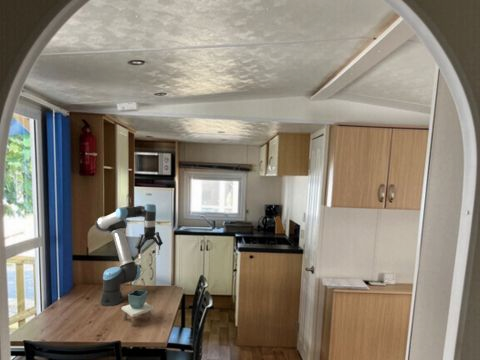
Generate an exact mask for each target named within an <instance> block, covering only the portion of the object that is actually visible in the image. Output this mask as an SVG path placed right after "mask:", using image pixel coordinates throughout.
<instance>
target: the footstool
mask: <svg viewBox="0 0 480 360" xmlns="http://www.w3.org/2000/svg"><path fill="white" fill-rule="evenodd" d="M121 310H122V311H123V321H127V320H128V315H129V316H130V317H131V327H135V326H136V317H137V316H139V315H141V316H142V315H143V314H145V313H147V314H146V315H147V318H146V319H147V321H151V319H152V318H151V317H152V311H153V310H154V306H152V305H150V303H147V302H146V301H145V303H144V305H143V306H142V307H141V308H140V309H136V308H132V307H131V306H130V304H129V303H128V304H127V305H123V306H121Z"/></svg>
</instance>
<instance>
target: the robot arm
mask: <svg viewBox="0 0 480 360" xmlns="http://www.w3.org/2000/svg"><path fill="white" fill-rule="evenodd" d="M156 216H157V207H156V204H154V203H153V204H152V203H150V204H149V203H146V204H144V205H136V206H126V207H123V206H122V207H118V208H117V209H116V210H115V211H114V212H112V213H110V214H108V215H106V216H104V215H103V216H100V217H98V218H97V219H96V220H95V222H94V226H95V228H96V229H97V231H100V232H104V233H105V232H109V234H110V235H112V238H113V242H114V244H115V247H116V251H117V256H118V259H119V263H120V264H119V266H113V267H109V268H107V269H105V270H104V272H103V275H102V293H101V295H100V299H99V304H100V305H101V306H104V307H110V306H116V305H119V304H121V303H122V302H123V300H124V295H123V294H122V290H121V289H122V288H121V287H122V285H125V284H128V283H132V282H135V281H137V280H138V279H139V278H140V276H141V271H142V270H141V267H140V265H139V264H136V262H135V261H134V260H133V258H132V255H131V254H132V253H131V252H130V248H129V247H130V246H129V243H128V241H127V237H126V233H125V232H126V229H127V227H128V221H127V219H130V218H132V219H133V218H143V217H144V223H143V226H144V227H143V228H144V229H143V232H144V233H143V234H141V233H140V234H139V236H138V237H139V238H138V239H137V242H136V244H135V247H134V248H135V249H137V254H138V258H139V259H143V256H142V255H143V246H144V245H145V243H146V242H147V241H150V240H153V242H155V244H156V247H155V248H156V249H155V250H156V251H155V255H157V256H160V250H161V246H162V245H163V244H164V243H163V240H162V238H161V235H160V232H159V231H156V219H157V217H156Z"/></svg>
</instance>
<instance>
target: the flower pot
mask: <svg viewBox="0 0 480 360" xmlns="http://www.w3.org/2000/svg"><path fill="white" fill-rule="evenodd" d="M147 296H148V290H141V289H135V290H133V291H132V292H130V293H128V294H127V297H128V298H127V299H128V305H129V304H130V306H131V307H132V308H136V309H140V308H141V307H142V306H143V305H144V303H145V302H146V301H147Z"/></svg>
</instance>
